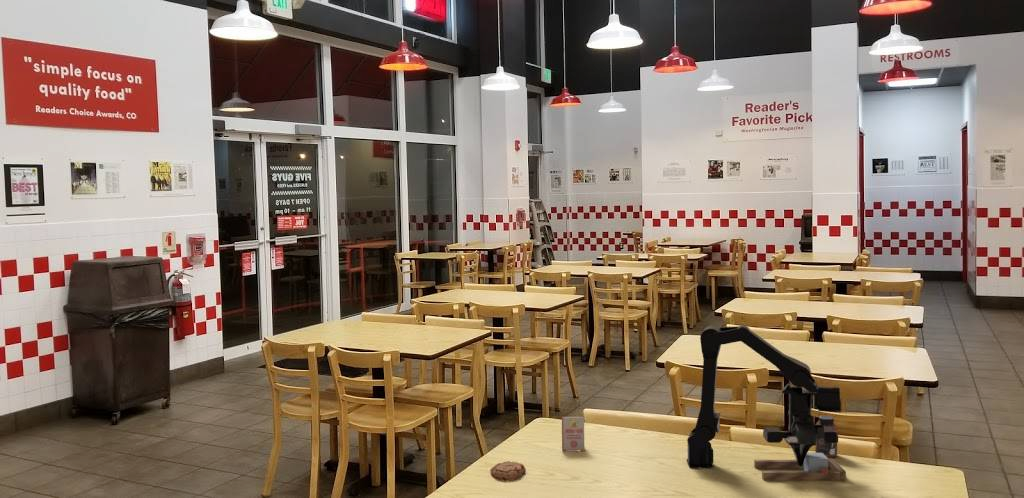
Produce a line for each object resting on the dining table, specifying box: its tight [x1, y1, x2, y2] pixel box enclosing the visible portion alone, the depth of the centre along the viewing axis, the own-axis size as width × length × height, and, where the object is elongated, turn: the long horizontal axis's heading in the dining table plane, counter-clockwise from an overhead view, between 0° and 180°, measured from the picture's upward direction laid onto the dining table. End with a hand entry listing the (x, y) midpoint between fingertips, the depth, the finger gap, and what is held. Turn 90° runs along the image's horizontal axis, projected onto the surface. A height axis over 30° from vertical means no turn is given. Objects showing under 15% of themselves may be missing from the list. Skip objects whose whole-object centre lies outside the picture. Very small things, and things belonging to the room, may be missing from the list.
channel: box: [753, 457, 847, 482], centre depth 218 cm, size 22×11×3 cm, turn 85°
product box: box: [561, 416, 585, 451], centre depth 244 cm, size 4×7×10 cm, turn 85°
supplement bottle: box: [814, 415, 838, 459], centre depth 233 cm, size 6×6×11 cm
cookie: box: [489, 460, 527, 482], centre depth 222 cm, size 10×11×3 cm
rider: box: [803, 452, 828, 471], centre depth 218 cm, size 5×5×5 cm
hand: (800, 465), depth 218 cm, fingers closed
